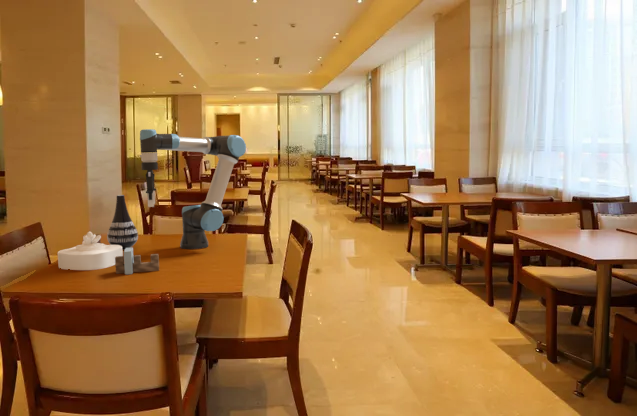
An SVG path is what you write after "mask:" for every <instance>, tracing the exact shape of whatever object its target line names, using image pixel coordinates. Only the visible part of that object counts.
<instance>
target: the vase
mask: <svg viewBox="0 0 637 416" xmlns="http://www.w3.org/2000/svg"><path fill="white" fill-rule="evenodd" d="M115 201H116V202H115V210H114V215H113V217H112V221H111V223H110V226H109V228H108V230H107V235H106V239H107V242H108V243H109V245H120V246H122V250H125V249H126V248H132V247H134V245H135V244H136V243H137V242H138V239H139V232H138V229H137V227H136V226H135V224H134V222H133V220H132V218H131V216H130V213H129V211H128V208H127V203H126V199H125V195H124V194H118V195H117V194H116V199H115Z"/></svg>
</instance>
